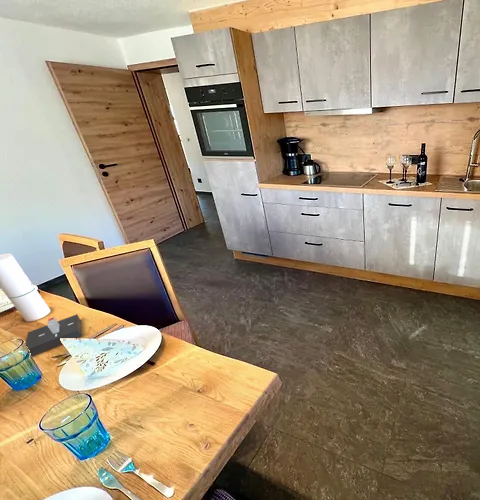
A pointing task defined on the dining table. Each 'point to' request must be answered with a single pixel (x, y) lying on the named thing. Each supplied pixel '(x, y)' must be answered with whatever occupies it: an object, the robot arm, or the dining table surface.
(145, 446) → the dining table surface
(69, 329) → the hob panel
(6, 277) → the cylindrical container
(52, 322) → the stove knob
